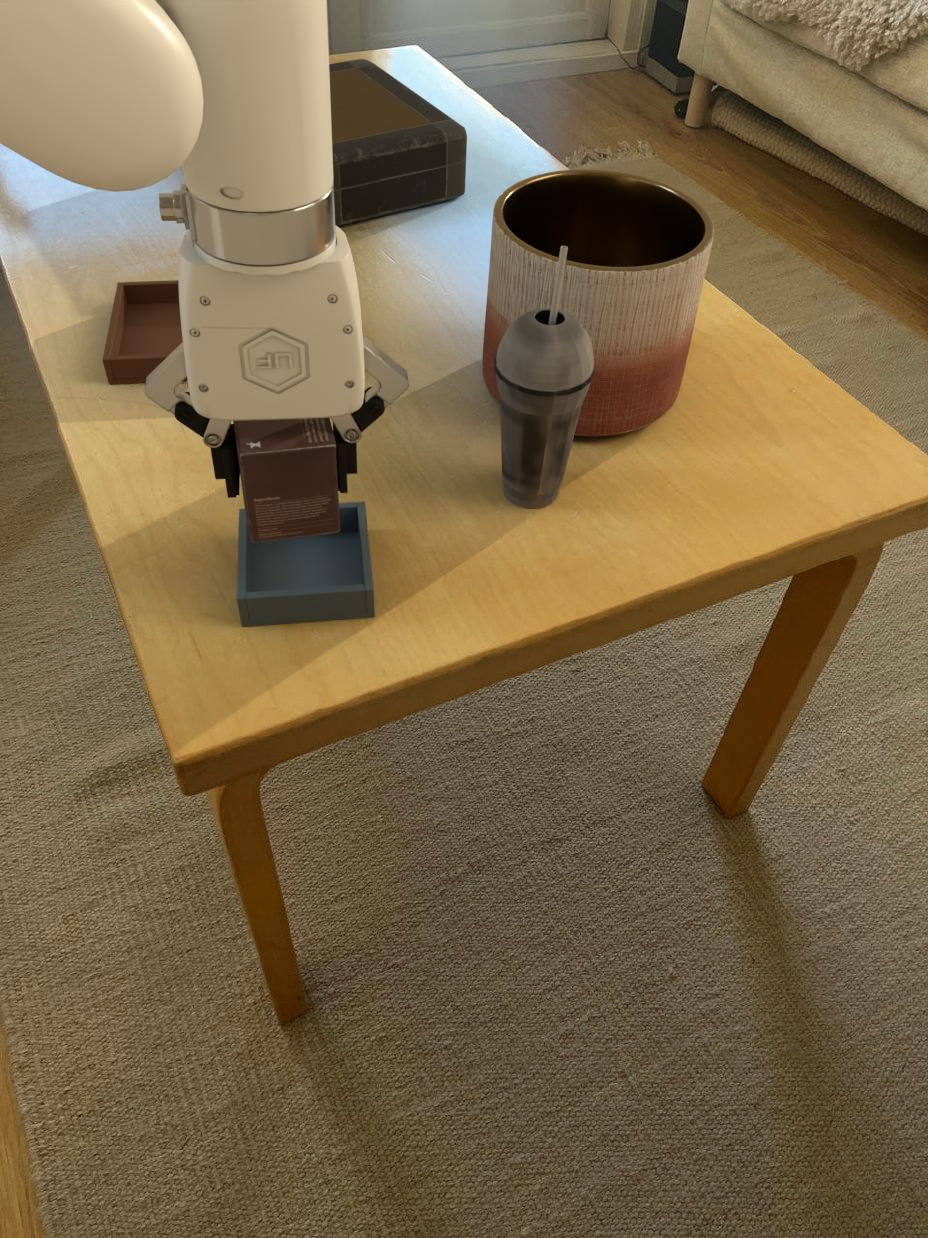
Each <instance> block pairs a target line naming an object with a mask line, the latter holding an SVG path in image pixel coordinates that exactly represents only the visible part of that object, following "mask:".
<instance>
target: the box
mask: <svg viewBox="0 0 928 1238" xmlns="http://www.w3.org/2000/svg"><path fill="white" fill-rule="evenodd" d="M331 421H332V420H331V418H309V419H280V420H245V421H232V422H233V423H232V424H234V431H235V438H236V446H237V454H238V462H239V470H240V485H241V490H242V498H243V499H242V500H243V505H244V508H245V512H246V518H247V524H248V530H249V535H250V540H251V542H253V543H254V542H264V541H273V540H280V539H287V538H295V537H304V536H311V535H321V534H329V533H336V532H339V531H340V517H339V516H340V515H339V503H340V499H339V491H338V482H337V461H336V442H335V437H334V433H333V424H332V422H331Z"/></svg>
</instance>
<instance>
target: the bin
mask: <svg viewBox="0 0 928 1238" xmlns="http://www.w3.org/2000/svg"><path fill="white" fill-rule="evenodd" d="M339 515H340V516H339V517H340V531H339V532H336V533H329V534H321V535H311V536H304V537H295V538H287V539H280V540H273V541H264V542H254V543H253V542H251V540H250V535H249V530H248V524H247V518H246V512H245V507H244V508H239V509H238V533H237V534H238V537H237V539H238V540H237V568H236V569H237V576H236V604H237V609H238V613H239V618H240V624H241V627H256V626H269V625H284V624H296V623H297V624H298V623H312V622H324V621H338V620H351V619H367V618H375V617H376V615H375V614H376V612H375V610H376V609H375V608H376V607H375V590H374V589H375V587H374V578H373V569H372V558H371V549H370V539H369V529H368V528H369V527H368V519H367V507H366V502H365V501H348V502H339Z"/></svg>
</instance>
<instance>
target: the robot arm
mask: <svg viewBox="0 0 928 1238" xmlns="http://www.w3.org/2000/svg"><path fill="white" fill-rule="evenodd" d="M328 23H329V22H328V1H327V0H0V145H2V146H4V147H5V148H7V149H9V150H10V151H12V152H14V153H16V154H18V155H20V156H21V157H22V158H24V159H26V160H28V161H30V162H32V163H33V164H35V165H37V166H38V167H40V168H41V169H43V170H45V171H47V172H50V173H51V174H53V175H55V176H57V177H60V178H62V179H64V180H66V181H68V182H71V183H74V184H77V185H79V186H84V187H87V188H91V189H93V190H99V191H105V192H133V191H137V190H141V189H145V188H148V187H151V186H153V185H156V184H158V183H160V182H162V181H164V180H166V179H167V178H169V176H171V175H172V174H174V173H175V172H176V171H177V170H178V169H179V168H181V166H182V171H183V179H184V183H181V184H180V189H179V190H178V189H175V190H173V193H172V192H171V193H170V192H169V193H168V192H165V193H164V192H163V193H161V192H160V193H158V206H159V213H160V214H159V215H160V219H161V221H162V222H176V224H183V225H184V228H185V231H187V232H186V233H185V235H184V236H183V239H182V242H181V245H180V248H179V255H178V257H179V258H178V280H179V305H180V317H181V329H182V338H183V342H182V343H181V344H180V345H179V346H178V347H177V348H176V349H175V350H174V351H173V352H172V353H171V354H170V355H169V356H168V357H167V358H166V359H165V360H164V361H163V362H162V363H160V364H159V365H158V366H157V367H156V368H155V369H154V370H153V371H152V372H151V373H150V374H149V375H148V376H147V378H146V383H144V384H145V385H144V395H145V396H146V398H148V399H149V400H151V401H152V402H154V403H155V405H158V406H159V407H160V408H162V409H163V410H165V411H166V412H168V413H169V412H170V413H171V414H173V416H174V418H175V420H176V421H178V422H179V423H180V424H182V425H183V426H184V427H187V429H189V430H190V431H192V432H193V433H195V434H197V435H198V436H199V437H202V442H203V443H204V446H206V447H208V448H210V454H211V461H212V466H213V473H214V478H215V480H224V482H225V488H226V495H227V498H228V499H233V498H234V499H236V498H237V496H240V488H241V487H240V485H241V477H240V470H239V462H238V454H237V446H236V438H235V431H234V423H232V422H233V421H245V420H280V419H309V418H330V420H331V421H332V429H333V433H334V437H335V442H336V461H337V482H338V492H339V494H348V490H349V489H348V475H357V474H358V447H357V443H358V442H359V441H360V440H361V439H362V433H363V432H364V431H365V430H366V429H367V428H369V427H370V426H371V425H372V424H374V423H375V422H376V421H377V420H378V419H379V418H380V417H381V416H383V414H384V413H385V411H386V408H387V407H389V406H392V404H393V403H395V401H397V400H398V399H399V398H400V397H401V396H402V395H404V394H405V393H406V391H408V389H409V387H410V383H409V382H410V381H409V378H408V372H407V370H406V369H405V368H404V367H403V366H401V365H400V364H399V363H398V362H396V361H395V360H394V359H393V358H391V357H390V356H389V355H388V354H386V353H385V352H384V351H382V349H380V348H379V347H378V346H377V345H375V343H373V341H371V340H370V339H368V338H367V337H366V336H364V335H363V322H362V310H361V308H362V307H361V299H360V292H359V282H358V278H357V273H356V267H355V262H354V258H353V254H352V250H351V247H350V246H351V245H350V244H349V241H348V238H347V237H348V236H347V235H346V233H345V232H344V230H343V229H341V227H340V226H336V225H335V204H334V182H333V153H332V127H331V100H330V74H329V64H330V54H329V51H330V49H329V25H328ZM365 373H367V374H368V375H369V376H371V377H372V378H373V379H374V380H376V381H375V382H374V385H371V386H368V387H367V388H365V387H366V383H365V382H366V379H365V378H366V377H365V376H366V375H365ZM186 377H187V379H188V381H187V385H188V391H185V390H183V388H182V387H181V386H180V384H181V383H182V382H184V381H183V380H184V379H185V378H186Z"/></svg>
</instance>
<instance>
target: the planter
mask: <svg viewBox="0 0 928 1238" xmlns="http://www.w3.org/2000/svg"><path fill="white" fill-rule="evenodd" d="M711 216H712V215H710V213H709V212H708V211H707V209H706V208H705V206H703V205H702V204H701V203H700V202H699V201H698V200H697V199H695V198H693V197H692V196H690V195H689V194H687V193H685V192H684V191H683V190H680V189H678V188H676V187H674V186H672V185H669V184H668V183H665V182H662V181H659V180H656V179H653V178H650V177H646V176H643V175H638V174H634V173H630V172H623V171H616V170H608V169H596V168H595V169H594V168H593V169H592V168H579V169H577V168H576V169H563V170H556V171H549V172H548V171H547V172H545V173H539V174H536V175H533V176H530V177H526V178H524V179H522V180H520V181H517V182H515V183H514V184H512V185H510V186H508V188H506V189H505V190H504V191H503V192H502V193H500V195H499V196H498V198H497V199H496V201H495V203H494V206H493V210H492V220H491V221H492V222H491V237H490V238H491V239H490V250H489V251H490V253H489V264H488V265H489V266H488V267H489V268H488V280H487V293H486V302H485V303H486V304H485V316H484V330H483V344H482V362H481V363H482V377H483V381H484V384H485V387H486V389H487V391H488V392H489V394H490V395H491V397H492V398H493V399H494V400H495V401H496V402H497V403H498V404H499V405H500V394H499V392H498V386H497V377H496V372H495V370H494V360H495V357H496V355H497V351H498V347H499V344H500V341H501V340H502V338H503V336H504V334H505V332H506V331H507V329H508V328H509V326H510V325H511V324H512V323H513V322H514V321H515V320H516V319H518V318H519V317H520V316H522V315H523V314H525V313H527V312H529V311H532V310H535V309H541V308H551V305H552V299H553V292H554V286H555V280H556V273H557V267H558V261H559V255H560V248H561V246H567V247H568V250H567V256H566V263H565V269H564V275H563V281H562V288H561V294H560V300H559V306H558V310H561V311H563V312H566V313H568V314H570V315H571V316H573V317H574V318H575V319H576V320H578V321H579V322H580V324H581V325H582V326H583V328H584V329H585V331H586V332H587V334H588V336H589V338H590V340H591V344H592V349H593V357H594V371H595V374H594V377H593V379H592V381H591V383H590V386H589V389H588V391H587V394H586V396H585V398H584V401H583V403H582V406H581V410H580V414H579V418H578V422H577V426H576V430H575V434H574V437H586V438H587V437H588V438H590V437H591V438H595V437H610V436H616V435H617V436H618V435H622V434H626V433H630V432H633V431H637V430H639V429H643V428H645V427H647V426H649V425H652V424H653V423H656V422H657V421H658V420H660V419H661V418H662V417H663V416H665V415H666V414H667V413H668V412H669V411H670V410H671V408H672V407H673V406H674V404H675V402H676V401H677V399H678V396H679V393H680V390H681V386H682V382H683V379H684V375H685V370H686V365H687V361H688V356H689V352H690V347H691V343H692V338H693V333H694V329H695V325H696V324H695V323H696V318H697V314H698V309H699V304H700V301H701V296H702V292H703V288H704V282H705V278H706V274H707V269H708V265H709V260H710V256H711V252H712V249H713V243H714V238H715V224H714V221H713V219H712V217H711Z"/></svg>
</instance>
